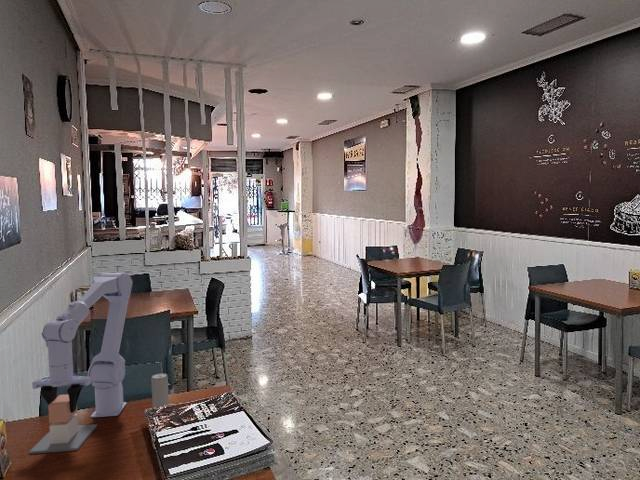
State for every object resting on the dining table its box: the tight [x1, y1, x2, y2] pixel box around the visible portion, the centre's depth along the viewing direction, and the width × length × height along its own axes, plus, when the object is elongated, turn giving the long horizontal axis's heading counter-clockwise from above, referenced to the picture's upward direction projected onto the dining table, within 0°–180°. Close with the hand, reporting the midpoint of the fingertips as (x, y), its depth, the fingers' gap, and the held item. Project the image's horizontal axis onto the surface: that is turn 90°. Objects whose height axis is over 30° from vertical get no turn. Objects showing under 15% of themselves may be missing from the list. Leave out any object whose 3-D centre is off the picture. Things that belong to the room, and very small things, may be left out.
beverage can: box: [150, 372, 170, 409], centre depth 144 cm, size 5×5×12 cm
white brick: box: [49, 413, 79, 444], centre depth 128 cm, size 7×4×5 cm, turn 6°
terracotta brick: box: [47, 393, 78, 424], centre depth 128 cm, size 7×4×5 cm, turn 6°
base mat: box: [28, 423, 98, 455], centre depth 129 cm, size 14×12×1 cm
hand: (63, 411), depth 128 cm, fingers closed on terracotta brick, 4 cm apart
